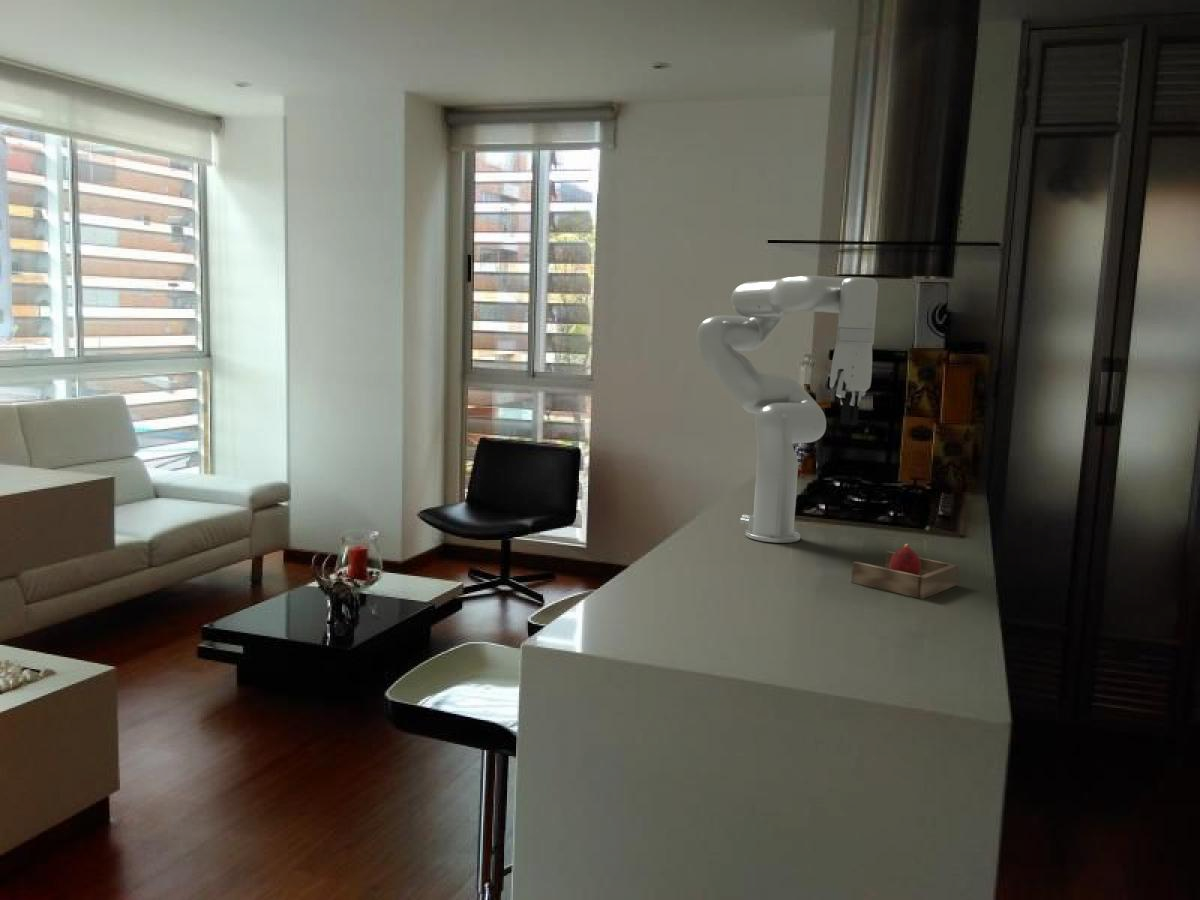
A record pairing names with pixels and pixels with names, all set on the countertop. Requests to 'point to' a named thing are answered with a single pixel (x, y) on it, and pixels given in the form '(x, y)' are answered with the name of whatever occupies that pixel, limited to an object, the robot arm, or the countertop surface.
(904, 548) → the onion
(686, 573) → the countertop surface
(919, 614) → the countertop surface
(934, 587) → the wooden tray
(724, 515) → the countertop surface
